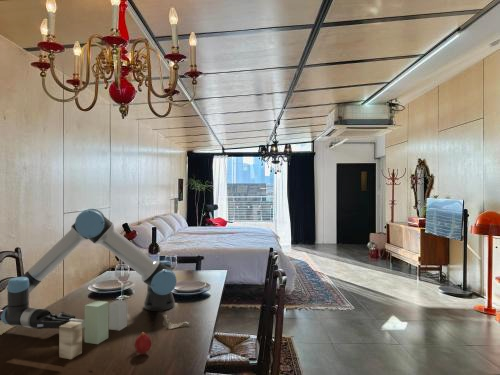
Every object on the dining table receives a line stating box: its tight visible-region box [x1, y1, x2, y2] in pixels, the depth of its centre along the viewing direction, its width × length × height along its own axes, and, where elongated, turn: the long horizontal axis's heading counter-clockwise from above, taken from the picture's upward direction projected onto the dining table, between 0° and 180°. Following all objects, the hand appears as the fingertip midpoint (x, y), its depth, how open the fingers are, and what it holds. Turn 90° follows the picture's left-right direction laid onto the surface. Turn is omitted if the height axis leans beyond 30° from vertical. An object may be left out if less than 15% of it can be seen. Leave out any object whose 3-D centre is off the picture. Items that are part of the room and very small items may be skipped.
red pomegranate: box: [134, 331, 153, 356], centre depth 127 cm, size 6×6×8 cm
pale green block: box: [84, 300, 109, 345], centre depth 136 cm, size 6×6×14 cm
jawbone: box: [162, 313, 190, 331], centre depth 157 cm, size 9×20×2 cm, turn 46°
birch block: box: [58, 321, 83, 360], centre depth 123 cm, size 5×5×12 cm
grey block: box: [108, 299, 128, 331], centre depth 149 cm, size 5×5×12 cm
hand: (83, 324), depth 137 cm, fingers closed
